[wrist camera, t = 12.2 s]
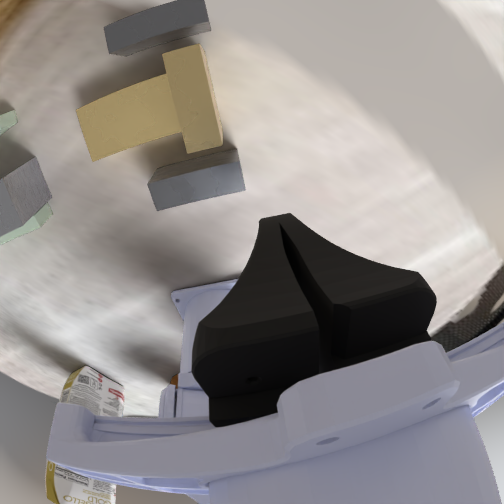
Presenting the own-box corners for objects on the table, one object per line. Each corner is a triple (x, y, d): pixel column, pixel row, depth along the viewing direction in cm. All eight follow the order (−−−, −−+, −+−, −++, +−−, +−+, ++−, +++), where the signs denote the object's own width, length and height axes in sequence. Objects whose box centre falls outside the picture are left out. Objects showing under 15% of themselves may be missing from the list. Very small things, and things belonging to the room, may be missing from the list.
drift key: (222, 131, 18) (222, 145, 14) (108, 164, 18) (83, 187, 15) (204, 51, 15) (199, 43, 11) (86, 94, 15) (54, 101, 11)
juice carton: (64, 371, 34) (38, 502, 15) (83, 359, 32) (56, 513, 13) (108, 396, 39) (95, 519, 20) (132, 388, 37) (122, 529, 18)
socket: (242, 173, 20) (245, 190, 18) (165, 192, 20) (157, 211, 18) (205, 7, 13) (202, -6, 10) (121, 33, 13) (103, 27, 10)
